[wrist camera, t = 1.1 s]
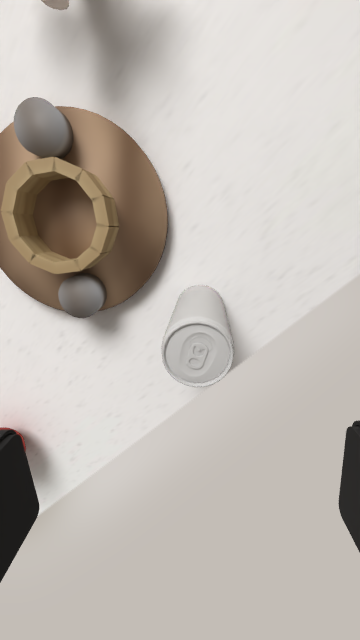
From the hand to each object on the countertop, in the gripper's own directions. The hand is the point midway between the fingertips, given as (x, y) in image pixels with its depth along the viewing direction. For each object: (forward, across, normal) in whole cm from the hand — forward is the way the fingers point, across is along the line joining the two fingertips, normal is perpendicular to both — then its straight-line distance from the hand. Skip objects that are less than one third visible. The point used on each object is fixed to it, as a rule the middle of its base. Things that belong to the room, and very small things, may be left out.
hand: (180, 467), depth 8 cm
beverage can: (+22, -1, +1) cm, 22 cm away
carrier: (+22, +11, -8) cm, 26 cm away
